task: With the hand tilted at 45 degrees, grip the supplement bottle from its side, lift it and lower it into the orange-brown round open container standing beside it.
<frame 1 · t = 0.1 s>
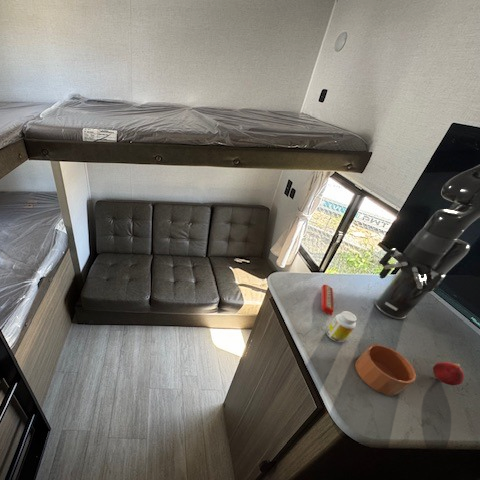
hand: (395, 286, 81), 17 cm above the worktop, tool pointing down, fingers open, 8 cm apart
red oval piece: (438, 380, 74), on the worktop
orange-brown round open container: (377, 375, 74), on the worktop
candy bar: (325, 301, 98), on the worktop
supplement bottle: (334, 336, 85), on the worktop
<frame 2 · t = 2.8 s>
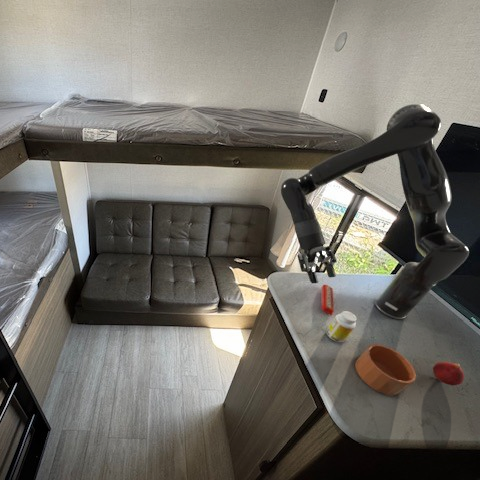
hand: (323, 280, 84), 15 cm above the worktop, tool tilted 45°, fingers open, 8 cm apart
nothing on the worktop moved.
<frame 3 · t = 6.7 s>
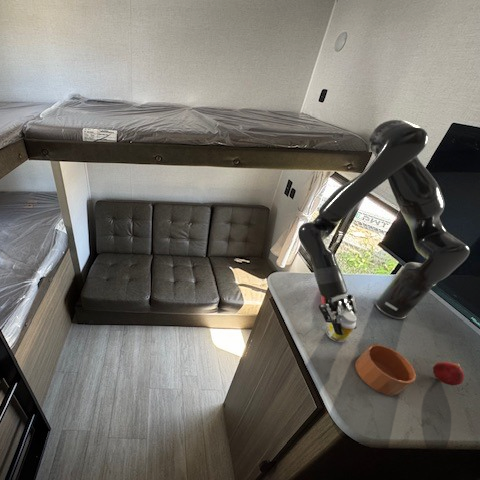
hand: (346, 331, 81), 5 cm above the worktop, tool tilted 45°, fingers closed on supplement bottle, 5 cm apart
supplement bottle: (334, 336, 85), on the worktop, touching gripper
everything else where it was.
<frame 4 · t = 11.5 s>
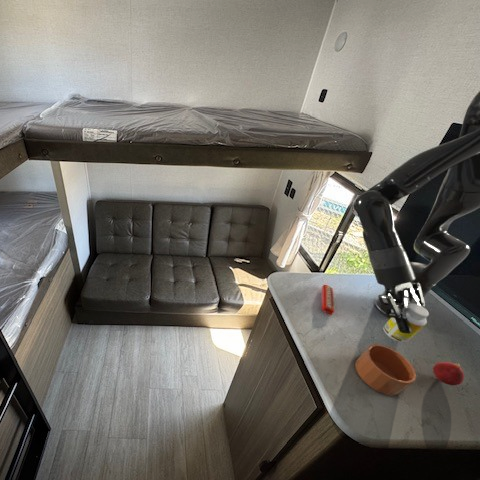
hand: (413, 328, 64), 20 cm above the worktop, tool tilted 45°, fingers closed on supplement bottle, 5 cm apart
supplement bottle: (394, 334, 68), point 15 cm above the worktop, touching gripper
everything else where it was.
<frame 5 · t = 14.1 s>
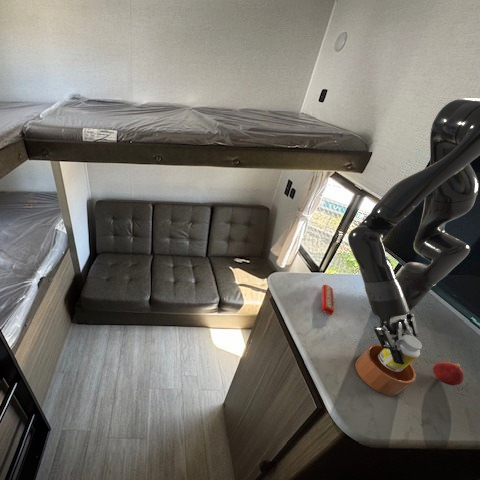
hand: (406, 359, 66), 11 cm above the worktop, tool tilted 45°, fingers closed on supplement bottle, 5 cm apart
supplement bottle: (388, 363, 71), point 6 cm above the worktop, touching gripper
everything else where it was.
when the fingers open (6 cm above the worktop, at t = 16.6 s): supplement bottle stays where it is, resting on orange-brown round open container.
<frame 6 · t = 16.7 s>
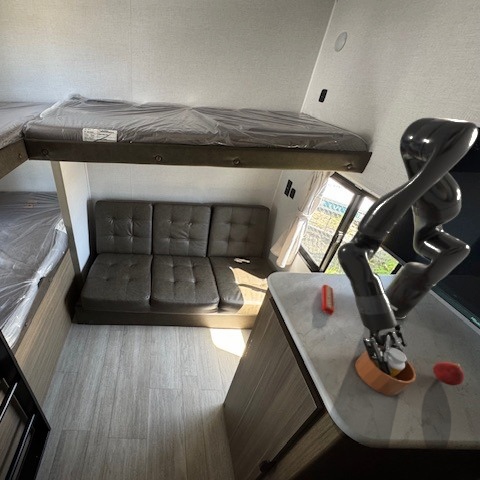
hand: (394, 368, 70), 6 cm above the worktop, tool tilted 45°, fingers open, 6 cm apart
supplement bottle: (376, 374, 74), resting on orange-brown round open container
everything else where it was.
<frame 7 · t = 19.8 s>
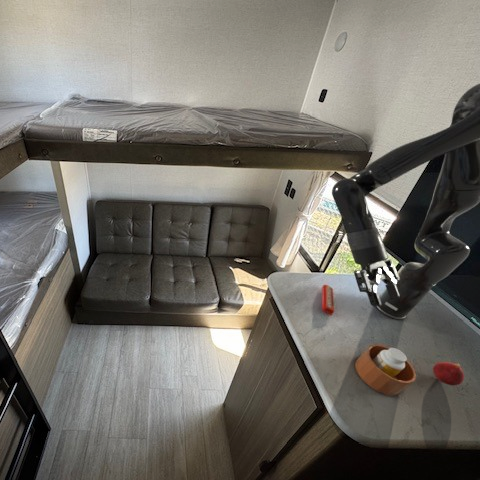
hand: (386, 301, 70), 21 cm above the worktop, tool tilted 45°, fingers open, 8 cm apart
nothing on the worktop moved.
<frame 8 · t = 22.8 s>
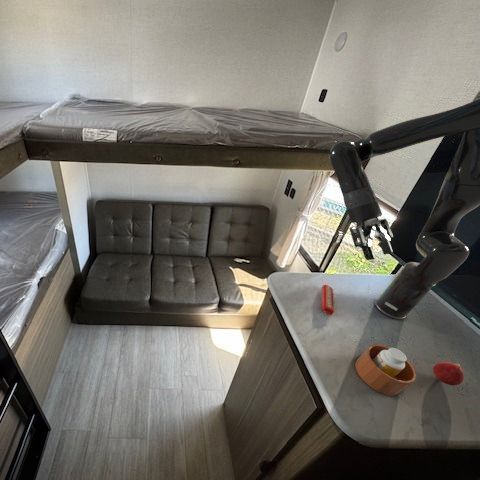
hand: (380, 256, 74), 29 cm above the worktop, tool tilted 45°, fingers open, 8 cm apart
nothing on the worktop moved.
at the end: supplement bottle inside the target area in the orange-brown round open container (0.2 cm from its centre), point 0.3 cm above the orange-brown round open container's base; supplement bottle tilted 0° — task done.
